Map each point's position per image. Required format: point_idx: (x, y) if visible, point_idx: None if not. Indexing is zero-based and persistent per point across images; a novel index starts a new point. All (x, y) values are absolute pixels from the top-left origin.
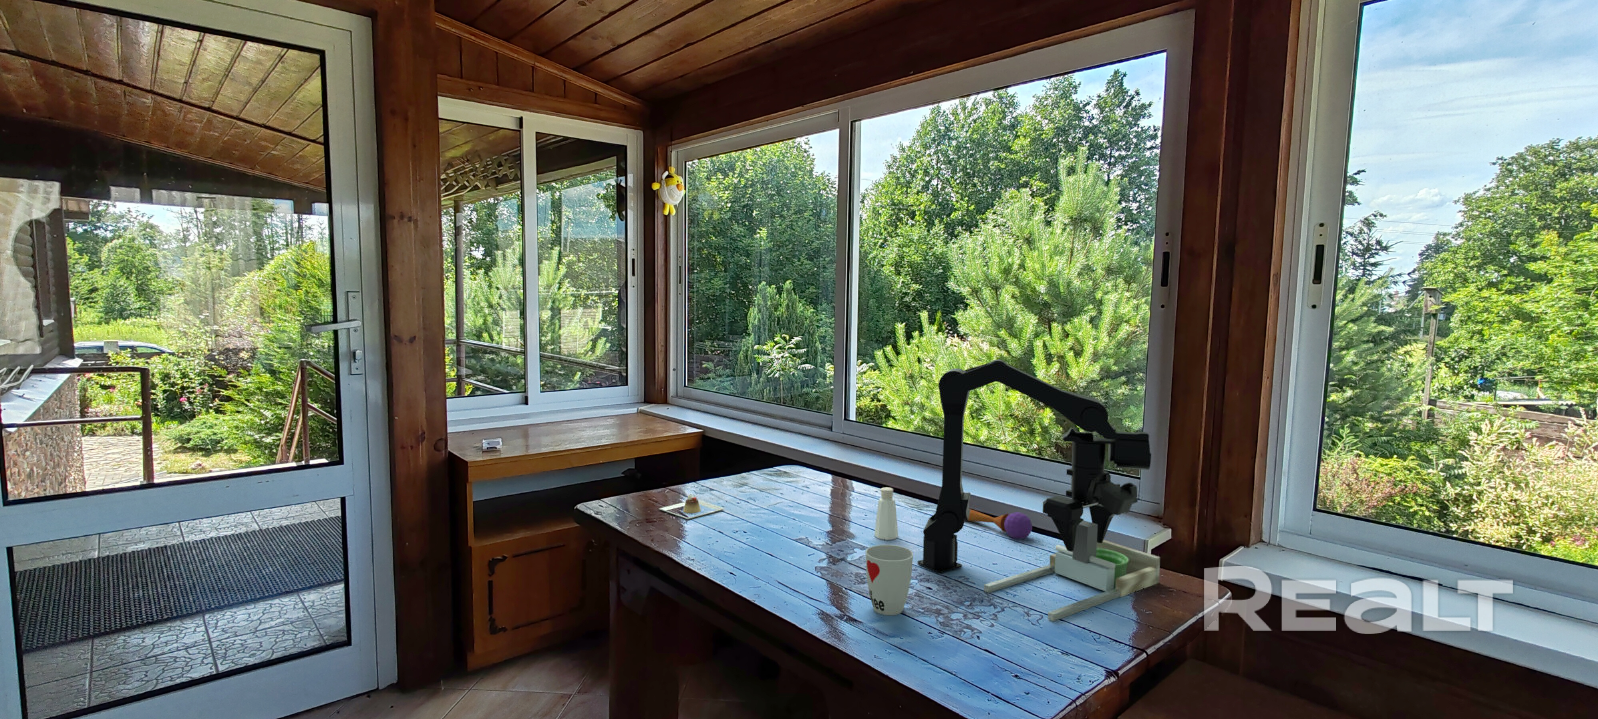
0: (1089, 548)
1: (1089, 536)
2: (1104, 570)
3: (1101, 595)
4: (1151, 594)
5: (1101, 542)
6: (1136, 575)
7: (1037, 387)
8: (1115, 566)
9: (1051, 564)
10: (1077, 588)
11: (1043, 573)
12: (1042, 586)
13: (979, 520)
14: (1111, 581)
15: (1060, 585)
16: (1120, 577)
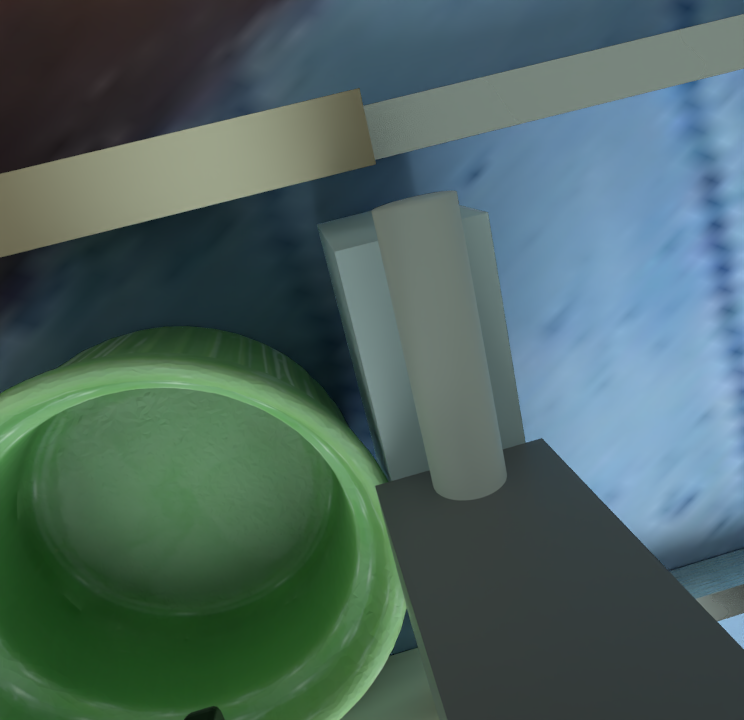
0: (573, 542)
1: (691, 681)
2: (486, 242)
3: (603, 70)
4: (14, 44)
5: (210, 708)
6: (74, 157)
7: None
8: (211, 359)
9: None
10: (536, 357)
11: None
12: (721, 450)
13: None
14: (365, 221)
15: (603, 434)
16: (302, 172)
